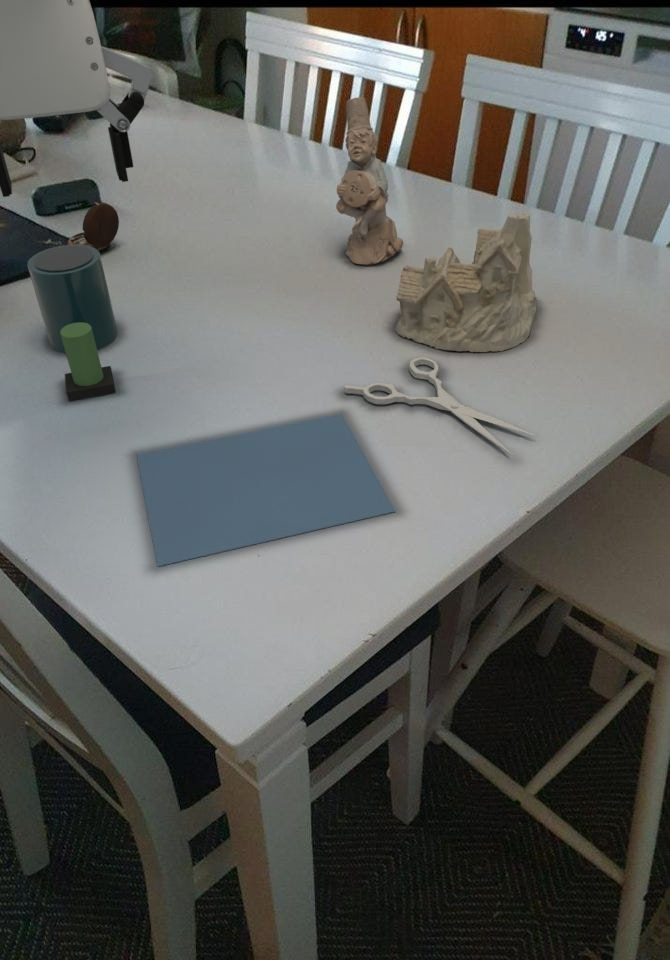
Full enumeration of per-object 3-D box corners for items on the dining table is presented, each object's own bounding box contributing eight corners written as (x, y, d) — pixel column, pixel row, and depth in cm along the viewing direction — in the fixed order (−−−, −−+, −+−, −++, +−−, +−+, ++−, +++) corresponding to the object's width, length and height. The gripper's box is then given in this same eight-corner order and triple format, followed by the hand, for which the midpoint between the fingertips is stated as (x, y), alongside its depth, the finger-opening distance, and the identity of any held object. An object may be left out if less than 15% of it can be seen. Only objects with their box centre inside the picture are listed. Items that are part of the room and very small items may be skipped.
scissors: (411, 349, 91) (560, 420, 80) (411, 355, 92) (559, 426, 80) (343, 386, 86) (492, 468, 74) (343, 392, 86) (492, 474, 75)
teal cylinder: (51, 359, 94) (27, 278, 87) (49, 327, 100) (26, 249, 93) (120, 347, 96) (102, 266, 89) (114, 316, 102) (96, 239, 95)
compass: (89, 235, 122) (78, 187, 117) (126, 246, 118) (116, 197, 114) (47, 255, 117) (34, 205, 112) (85, 267, 113) (72, 216, 109)
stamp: (68, 401, 87) (51, 342, 82) (67, 382, 90) (50, 324, 85) (115, 393, 88) (101, 334, 83) (112, 374, 91) (98, 316, 86)
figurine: (352, 238, 118) (349, 90, 105) (408, 245, 115) (412, 94, 103) (331, 264, 111) (325, 109, 99) (390, 271, 109) (391, 114, 96)
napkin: (157, 567, 67) (157, 566, 67) (136, 455, 79) (136, 454, 79) (395, 512, 71) (395, 511, 71) (341, 414, 83) (341, 413, 83)
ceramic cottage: (550, 299, 101) (558, 179, 91) (511, 368, 90) (515, 239, 80) (432, 285, 107) (429, 171, 97) (383, 348, 96) (373, 226, 87)
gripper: (125, -65, 64) (160, 159, 74) (-112, -51, 60) (-39, 183, 70) (137, -56, 58) (173, 185, 69) (-124, -40, 54) (-43, 213, 65)
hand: (65, 184), depth 69 cm, fingers open, 9 cm apart
